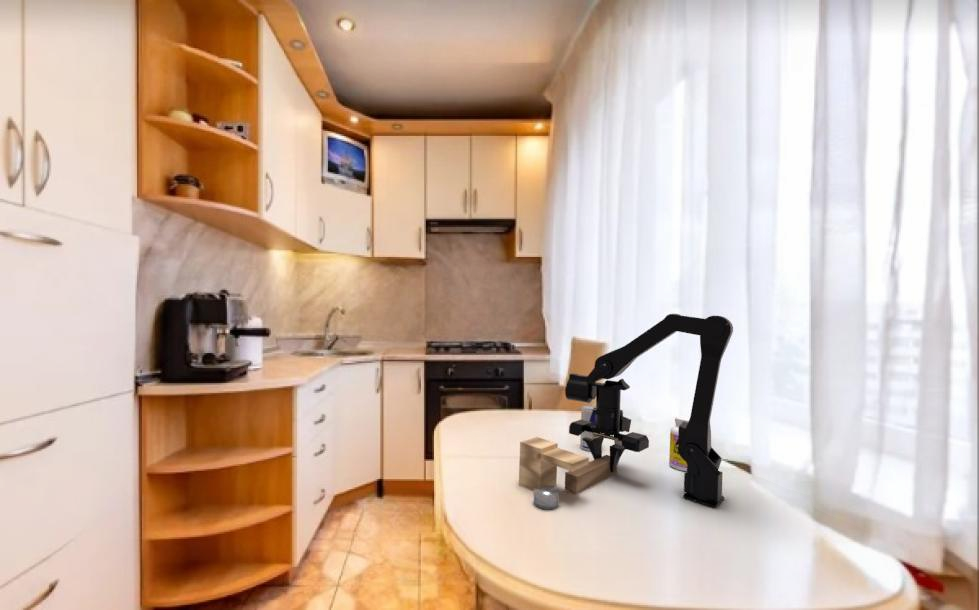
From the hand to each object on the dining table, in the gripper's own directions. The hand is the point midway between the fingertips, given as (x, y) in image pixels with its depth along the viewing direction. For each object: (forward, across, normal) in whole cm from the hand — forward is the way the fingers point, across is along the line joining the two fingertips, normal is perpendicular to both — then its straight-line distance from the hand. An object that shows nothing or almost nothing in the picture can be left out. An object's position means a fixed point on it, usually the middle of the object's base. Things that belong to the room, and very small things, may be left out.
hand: (605, 469), depth 101 cm
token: (+1, 0, +24) cm, 24 cm away
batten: (+1, 0, +6) cm, 6 cm away
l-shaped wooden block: (+1, +3, +18) cm, 18 cm away
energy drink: (+1, +13, -14) cm, 19 cm away
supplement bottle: (+1, -11, -20) cm, 23 cm away
